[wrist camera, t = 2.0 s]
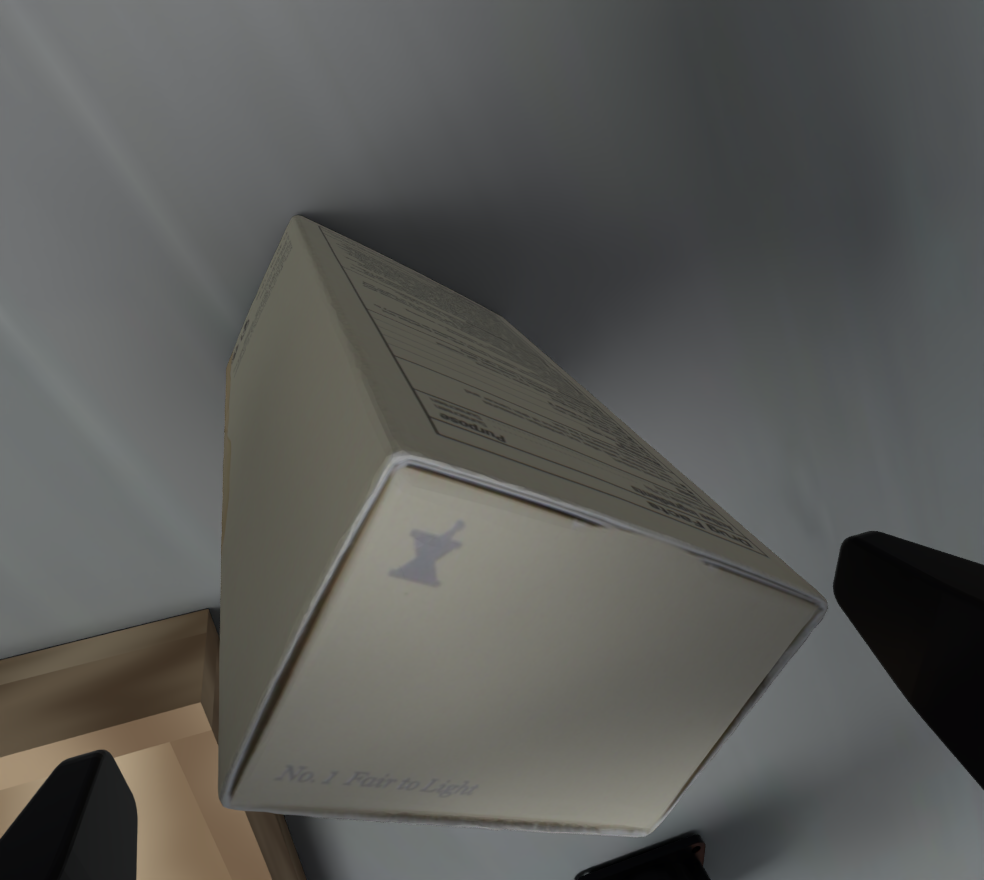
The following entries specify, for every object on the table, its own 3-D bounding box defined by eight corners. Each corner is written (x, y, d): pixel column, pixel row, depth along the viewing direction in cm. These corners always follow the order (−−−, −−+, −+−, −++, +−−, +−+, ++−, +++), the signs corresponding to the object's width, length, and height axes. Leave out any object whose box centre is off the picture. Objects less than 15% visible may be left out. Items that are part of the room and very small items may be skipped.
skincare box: (222, 369, 17) (173, 821, 7) (296, 200, 16) (376, 433, 5) (443, 452, 20) (648, 857, 10) (520, 315, 19) (849, 608, 8)
